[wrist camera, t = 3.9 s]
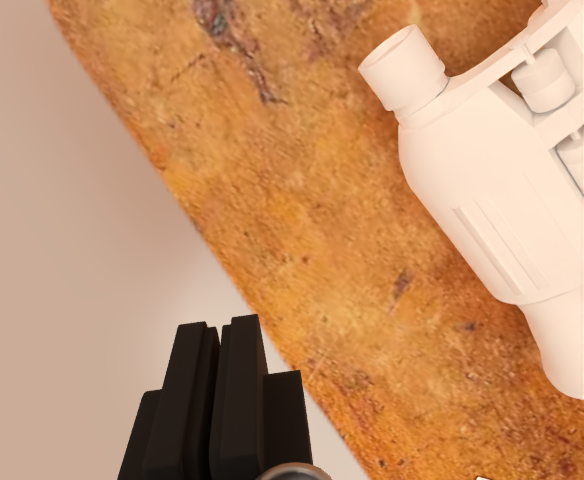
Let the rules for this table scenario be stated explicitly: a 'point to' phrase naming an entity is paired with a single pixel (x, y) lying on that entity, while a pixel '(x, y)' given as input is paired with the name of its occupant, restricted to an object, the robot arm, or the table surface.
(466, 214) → the binoculars
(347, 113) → the table surface
